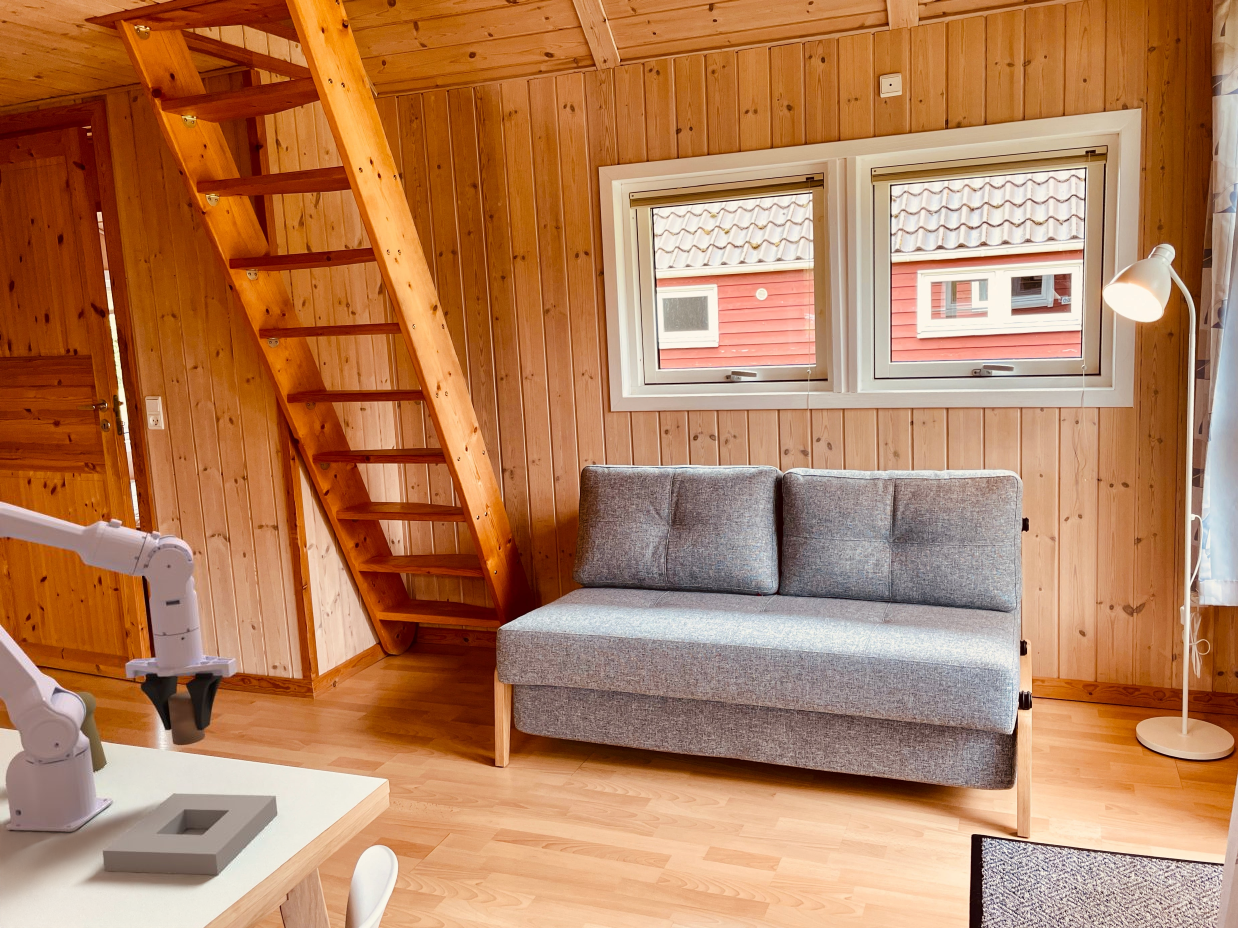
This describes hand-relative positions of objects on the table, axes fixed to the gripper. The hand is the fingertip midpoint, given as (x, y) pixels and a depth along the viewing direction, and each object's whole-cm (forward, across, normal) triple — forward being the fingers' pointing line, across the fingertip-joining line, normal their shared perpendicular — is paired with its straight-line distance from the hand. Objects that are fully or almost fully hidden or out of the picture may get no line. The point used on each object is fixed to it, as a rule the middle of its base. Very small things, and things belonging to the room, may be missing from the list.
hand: (187, 727), depth 132 cm
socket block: (+9, +8, -13) cm, 18 cm away
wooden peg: (+2, 0, 0) cm, 2 cm away
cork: (+9, -21, +7) cm, 24 cm away
